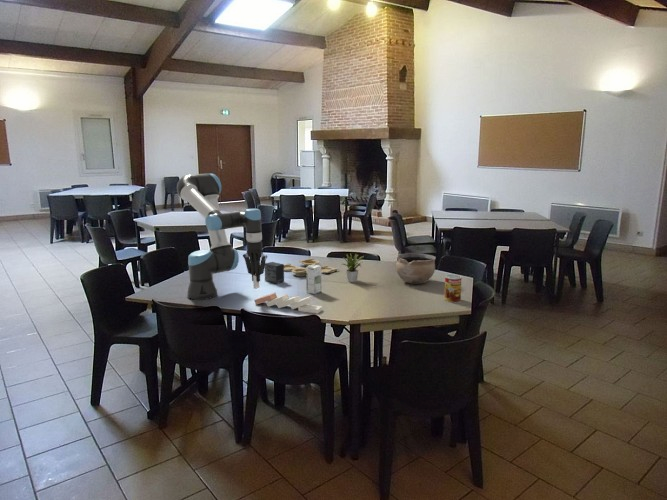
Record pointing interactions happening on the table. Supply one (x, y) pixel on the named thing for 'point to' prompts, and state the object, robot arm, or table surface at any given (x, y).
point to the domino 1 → (265, 298)
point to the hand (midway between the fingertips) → (256, 287)
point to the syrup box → (313, 279)
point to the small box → (274, 272)
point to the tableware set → (302, 271)
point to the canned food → (452, 288)
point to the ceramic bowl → (415, 267)
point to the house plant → (352, 268)
